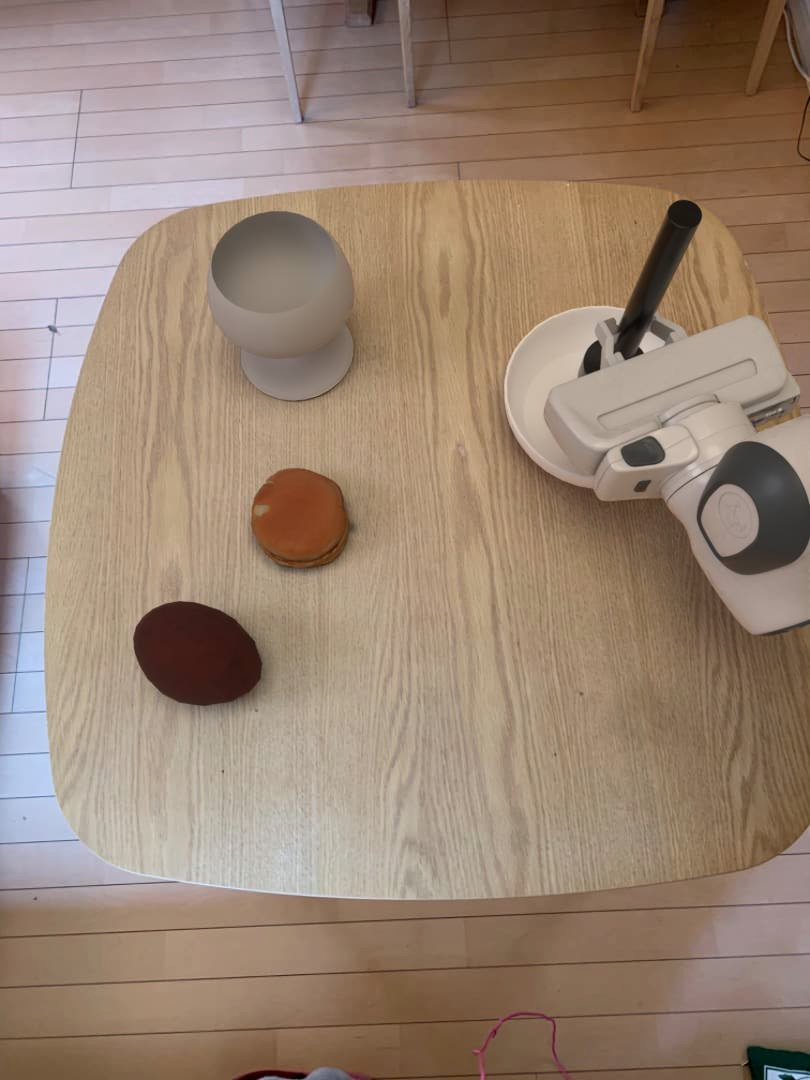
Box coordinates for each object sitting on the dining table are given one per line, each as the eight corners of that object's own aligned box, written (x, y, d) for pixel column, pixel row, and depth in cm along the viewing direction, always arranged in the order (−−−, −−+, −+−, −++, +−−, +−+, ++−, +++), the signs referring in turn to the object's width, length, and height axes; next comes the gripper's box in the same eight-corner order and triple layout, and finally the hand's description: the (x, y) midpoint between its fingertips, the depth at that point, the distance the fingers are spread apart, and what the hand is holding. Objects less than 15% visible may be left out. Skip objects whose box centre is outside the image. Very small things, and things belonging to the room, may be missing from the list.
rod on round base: (650, 369, 82) (742, 200, 59) (623, 418, 81) (707, 263, 58) (594, 342, 83) (663, 165, 60) (566, 389, 82) (627, 227, 59)
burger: (363, 551, 83) (359, 534, 79) (273, 585, 82) (264, 570, 78) (330, 467, 87) (324, 446, 82) (243, 498, 86) (233, 479, 81)
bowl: (622, 312, 92) (635, 276, 86) (728, 455, 86) (749, 426, 80) (464, 387, 89) (467, 355, 84) (562, 540, 83) (571, 517, 77)
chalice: (281, 434, 88) (253, 353, 74) (207, 344, 92) (168, 252, 78) (388, 361, 91) (381, 270, 77) (312, 277, 95) (291, 176, 81)
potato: (174, 602, 82) (143, 571, 73) (287, 645, 80) (269, 620, 71) (132, 685, 79) (95, 664, 70) (248, 733, 77) (225, 717, 69)
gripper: (827, 386, 68) (740, 254, 72) (596, 476, 66) (521, 334, 70) (794, 423, 74) (716, 299, 78) (581, 507, 72) (513, 374, 76)
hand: (622, 316), depth 74 cm, fingers closed on rod on round base, 2 cm apart
